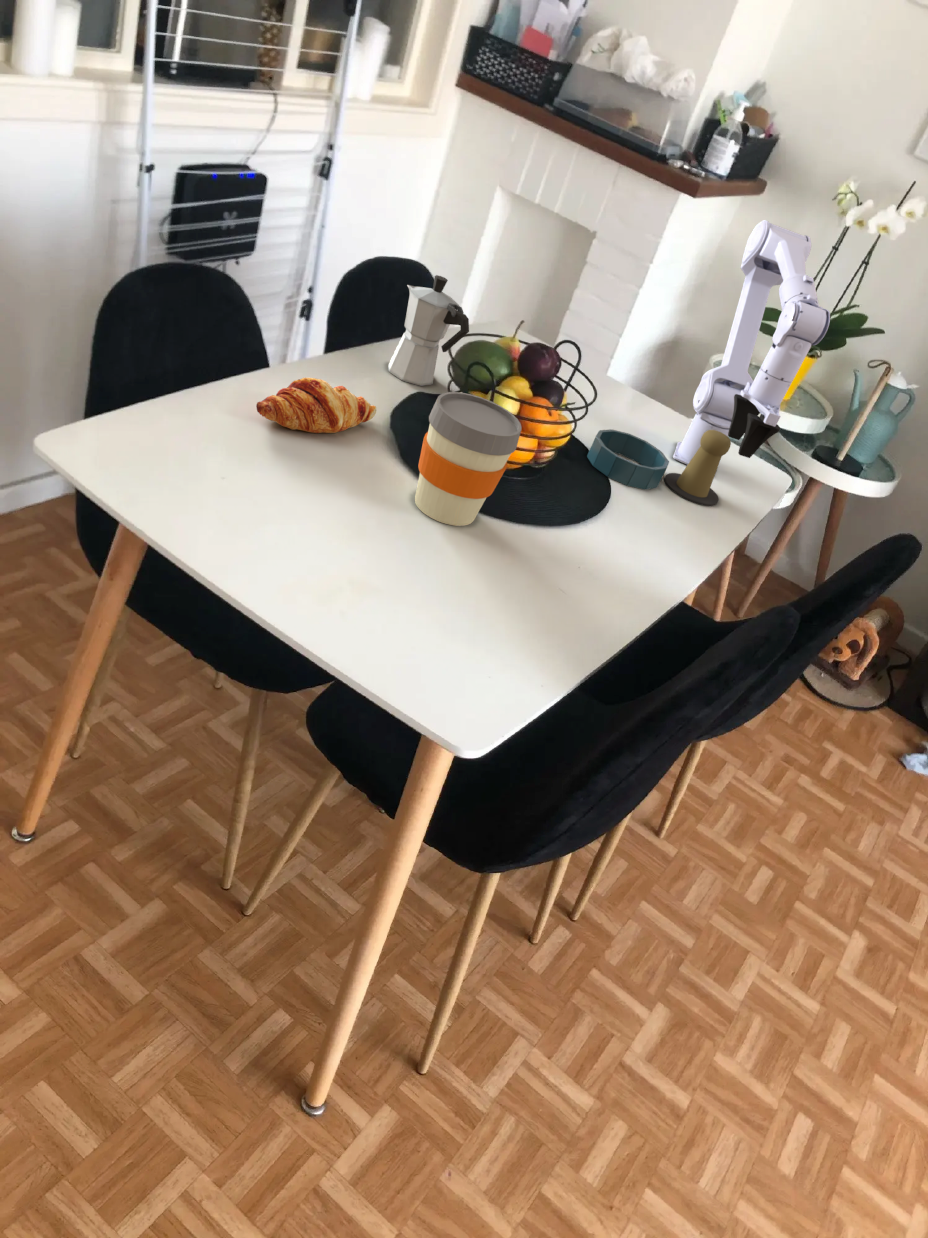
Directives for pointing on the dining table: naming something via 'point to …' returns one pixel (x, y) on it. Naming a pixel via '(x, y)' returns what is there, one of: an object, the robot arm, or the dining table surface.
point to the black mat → (706, 501)
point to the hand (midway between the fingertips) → (738, 446)
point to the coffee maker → (426, 332)
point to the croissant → (316, 407)
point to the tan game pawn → (704, 464)
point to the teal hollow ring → (624, 469)
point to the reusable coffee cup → (463, 456)
